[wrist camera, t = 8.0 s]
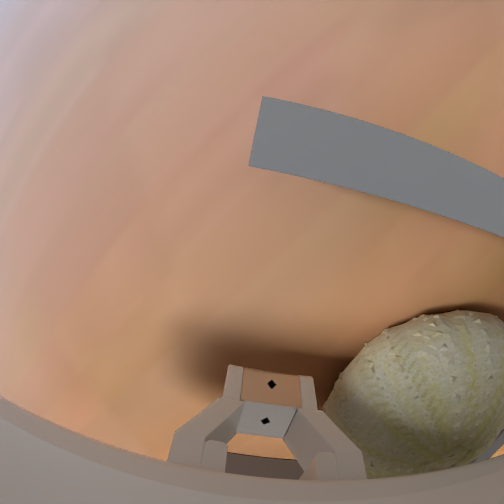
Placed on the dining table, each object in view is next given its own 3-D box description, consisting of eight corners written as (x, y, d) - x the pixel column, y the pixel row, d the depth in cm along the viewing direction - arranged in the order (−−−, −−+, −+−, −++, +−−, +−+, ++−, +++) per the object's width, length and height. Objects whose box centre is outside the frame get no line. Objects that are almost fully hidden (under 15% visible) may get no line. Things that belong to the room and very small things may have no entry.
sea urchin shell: (263, 457, 12) (381, 533, 5) (325, 299, 15) (459, 246, 8) (401, 482, 13) (514, 508, 6) (439, 359, 17) (552, 340, 9)
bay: (198, 459, 16) (190, 501, 13) (264, 105, 9) (262, 96, 6) (435, 465, 16) (445, 496, 13) (580, 230, 9) (617, 253, 6)
